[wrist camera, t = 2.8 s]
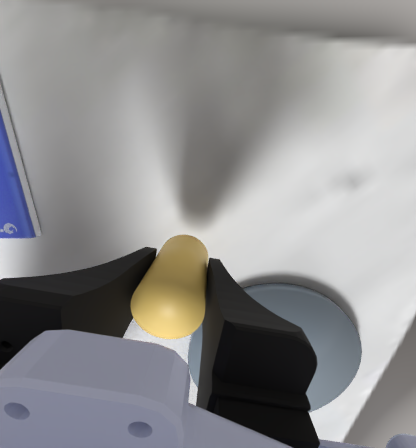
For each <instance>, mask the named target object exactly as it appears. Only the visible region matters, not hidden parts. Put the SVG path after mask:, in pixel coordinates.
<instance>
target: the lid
mask: <svg viewBox="0 0 416 448" xmlns="http://www.w3.org/2000/svg"><path fill="white" fill-rule="evenodd" d="M243 290H244V291H245V292H246V293H247V294H248V295H249V296H251V297H252V298H253V299H254V300H256V301H257V302H258V303H260V304H261V305H262V306H264V307H265V308H267V309H268V310H270V311H271V312H273V313H275V314H276V315H278V316H280V317H281V318H283V319H285V320H287V321H289V322H291V323H293V324H295V325H297V326H299V327H301V328H302V330H303V331H304V333H305V335H306V336H307V338H308V340H309V342H310V344H311V346H312V348H313V350H314V352H315V354H316V356H317V364H318V365H317V369H316V372H315V375H314V377H313V379H312V381H311V383H310V385H309V388H308V390H307V392H306V395H307V397H308V400H309V402H310V405H311V409H310V411H308V413H309V412H312V411H314V410H317V409H319V408H321V407H323V406H325V405H326V404H328V403H330V402H331V401H332V400H334V399H335V398H337V397H338V396H339V395H340V394H341V393H342V392H343V391H344V390H345V389H346V388H347V387H348V386H349V385H350V383H351V382H352V380H353V379H354V377H355V375H356V373H357V371H358V369H359V365H360V362H361V354H362V348H361V341H360V337H359V334H358V332H357V330H356V328H355V326H354V324H353V323H352V322H351V320H350V319H349V317H348V316H347V315H346V314H345V313H344V312H343V311H342V309H341V308H339V307H338V306H337V305H336V304H335V303H334V302H333V301H332V300H330V299H329V298H327V297H326V296H324V295H322V294H320V293H319V292H317V291H314V290H311V289H309V288H306V287H302V286H298V285H293V284H284V283H269V284H260V285H254V286H250V287H246V288H243ZM201 350H202V323H201V325H200V326H199V327H198V329H197V330H195V331H194V332H193V333H192V335H191V339H190V344H189V352H188V366H189V370H190V374H191V376H192V379H193V381H194V383H195V384H196V386H197V387H198V383H199V372H200V361H201Z"/></svg>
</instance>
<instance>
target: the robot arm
mask: <svg viewBox="0 0 416 448" xmlns="http://www.w3.org/2000/svg"><path fill="white" fill-rule="evenodd" d="M156 251H157V249H156V248H150V247H145V248H142V249H140V250H138V251H135V252H133V253H131V254H128V255H126V256H124V257H121V258H119V259H116V260H113V261H111V262H108V263H105V264H102V265H98V266H95V267H91V268H87V269H82V270H77V271H72V272H67V273H61V274H54V275H46V276H36V277H21V278H3V279H1V280H0V448H373V447H366V446H360V445H353V444H346V443H340V442H334V441H327V440H321V439H318V436H317V434H316V431H315V428H314V426H313V423H312V421H311V418H310V415H309V413H308V411H310V409H311V405H310V402H309V400H308V397H307V395H306V392H307V390H308V388H309V385H310V383H311V381H312V379H313V377H314V375H315V372H316V369H317V365H318V364H317V356H316V354H315V352H314V350H313V348H312V346H311V344H310V342H309V340H308V338H307V336H306V335H305V333H304V331H303V330H302V328H301V327H299V326H297V325H295V324H293V323H291V322H289V321H287V320H285V319H283V318H281V317H280V316H278V315H276V314H275V313H273V312H271V311H270V310H268V309H267V308H265V307H264V306H262V305H261V304H260V303H258V302H257V301H256V300H254V299H253V298H252V297H251V296H249V295H248V294H247V293H246V292H245V291H244V290H243V289H242V288H241V287H240V286H239V285H238V284H237V283H236V282H235V280H234V279H233V278H232V277H231V276H230V274H229V273H228V272H227V270H226V269H225V267H224V266H223V264H222V263H221V261H220V260H219V259H213V258H209V263H208V268H207V285H206V302H205V315H204V319H203V321H202V350H201V361H200V372H199V383H198V393H197V403H196V406H195V405H193V404H190V403H188V398H189V389H190V374H189V367H188V364H187V363H186V362H185V361H184V360H183V359H182V358H181V357H180V356H179V355H178V354H177V353H176V351H174V350H172V349H169V348H167V347H164V346H161V345H159V344H155V343H149V342H143V341H137V340H131V339H124V338H123V336H124V334H125V332H126V330H127V328H128V326H129V324H130V322H131V321H132V319H133V316H132V312H131V299H132V296H133V294H134V292H135V290H136V288H137V287H138V285H139V284H140V282H141V280H142V279H143V277H144V276H145V274H146V273H147V271H148V269H149V268H150V266H151V265H152V263H153V261H154V260H155V258H156ZM386 448H416V435H410V434H398V435H395V436H393V437H392V438H391V439H390V440H389V441H388V443H387V445H386Z"/></svg>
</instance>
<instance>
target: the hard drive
mask: <svg viewBox="0 0 416 448" xmlns="http://www.w3.org/2000/svg"><path fill="white" fill-rule="evenodd" d="M39 235H42V234H41V230H40V226H39V223H38V219H37V215H36V212H35V208H34V204H33V200H32V197H31V193H30V189H29V186H28V182H27V178H26V175H25V171H24V167H23V164H22V160H21V156H20V153H19V149H18V145H17V142H16V138H15V134H14V131H13V127H12V123H11V120H10V116H9V113H8V109H7V105H6V102H5V98H4V94H3V91H2V87H1V83H0V238H34V237H37V236H39Z"/></svg>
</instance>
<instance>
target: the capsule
mask: <svg viewBox="0 0 416 448" xmlns="http://www.w3.org/2000/svg"><path fill="white" fill-rule="evenodd" d="M207 268H208V252H207V249H206V247H205V246H204V244H203V243H202V242H201V241H200V240H198V239H197V238H195V237H193V236H189V235H177V236H174V237H172V238H170V239H169V240H168V241H167V242H166V243H165V244H164V245H163V247H162V249H161V250H160V252H159V253H158V255H157V257H156V258H155V260H154V261H153V263H152V265H151V266H150V268H149V269H148V271H147V273H146V274H145V276H144V277H143V279H142V280H141V282H140V284H139V285H138V287H137V288H136V290H135V292H134V294H133V296H132V299H131V312H132V316H133V318H134V320H135V321H136V323H137V324H138V325H139V326H140V327H141V328H142V329H143V330H145V331H146V332H147V333H149V334H151V335H153V336H156V337H159V338H164V339H178V338H182V337H185V336H188V335H190V334H191V333H193V332H194V331H195V330H197V329H198V327H199V326H200V325H201V323H202V321H203V319H204V315H205V302H206V285H207Z"/></svg>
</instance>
